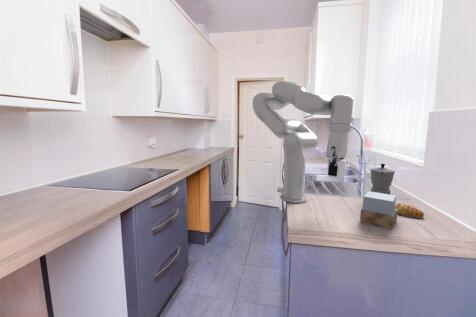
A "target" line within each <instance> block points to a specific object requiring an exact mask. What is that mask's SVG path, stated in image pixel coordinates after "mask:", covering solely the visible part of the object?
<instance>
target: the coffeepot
mask: <svg viewBox="0 0 476 317" xmlns="http://www.w3.org/2000/svg"><path fill="white" fill-rule="evenodd" d="M385 165H386V164H385V163H380V167H374V168H370V180H371V182H370V183H371V184H372V186H371V187H370V192H377V193H383V194H389V195H392V194H391V189H390V187H391V186H392V184H393V180H394V175H395V172H396V171H394V170H393V169H390V168H386V167H385Z"/></svg>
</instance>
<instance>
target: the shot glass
mask: <svg viewBox="0 0 476 317" xmlns="http://www.w3.org/2000/svg"><path fill="white" fill-rule="evenodd" d="M346 165H347V159H345V158H344V159H338V162H337V166H338V169H337V176H330V175H328V174H327V176H328V178H332V179H343V178H344V175H345V170H346ZM328 169H329V158H327V170H328Z"/></svg>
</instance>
